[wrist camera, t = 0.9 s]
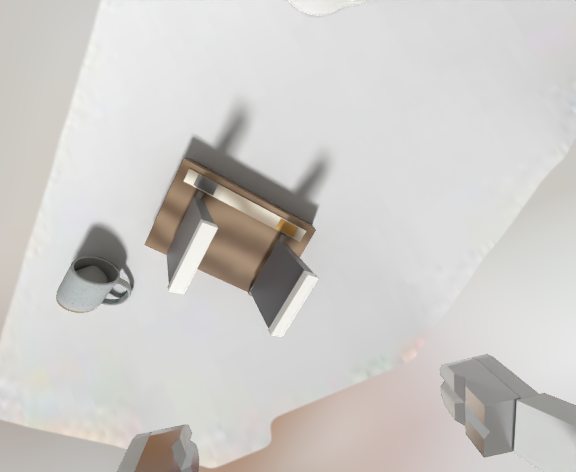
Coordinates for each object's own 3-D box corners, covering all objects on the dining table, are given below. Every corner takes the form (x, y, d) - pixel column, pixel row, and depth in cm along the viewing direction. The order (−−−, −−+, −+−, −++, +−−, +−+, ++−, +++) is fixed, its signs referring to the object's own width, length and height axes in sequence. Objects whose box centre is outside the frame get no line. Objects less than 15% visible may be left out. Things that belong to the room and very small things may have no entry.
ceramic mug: (70, 283, 52) (40, 303, 45) (90, 250, 51) (61, 266, 44) (122, 308, 55) (101, 332, 48) (142, 278, 54) (123, 297, 46)
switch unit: (190, 158, 48) (180, 158, 42) (312, 225, 53) (317, 232, 48) (153, 238, 51) (139, 248, 46) (271, 293, 57) (272, 308, 51)
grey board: (278, 240, 47) (307, 274, 38) (287, 244, 48) (319, 278, 39) (249, 291, 49) (270, 335, 40) (259, 293, 50) (282, 336, 41)
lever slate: (192, 196, 43) (202, 222, 34) (205, 201, 45) (218, 228, 36) (165, 253, 46) (168, 291, 36) (178, 256, 47) (183, 294, 38)
